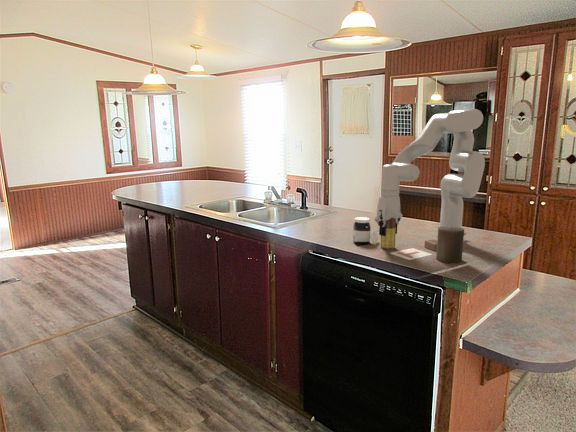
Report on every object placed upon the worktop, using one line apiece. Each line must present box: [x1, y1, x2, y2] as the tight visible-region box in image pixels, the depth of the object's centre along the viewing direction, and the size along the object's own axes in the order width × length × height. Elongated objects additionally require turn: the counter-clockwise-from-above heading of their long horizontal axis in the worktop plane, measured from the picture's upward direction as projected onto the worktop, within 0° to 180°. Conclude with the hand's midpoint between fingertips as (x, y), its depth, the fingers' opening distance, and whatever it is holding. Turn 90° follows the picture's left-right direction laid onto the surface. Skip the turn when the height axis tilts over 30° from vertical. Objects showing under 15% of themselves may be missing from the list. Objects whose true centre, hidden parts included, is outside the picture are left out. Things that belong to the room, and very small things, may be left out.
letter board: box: [389, 247, 433, 261], centre depth 175 cm, size 14×11×1 cm
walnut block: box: [423, 238, 437, 252], centre depth 182 cm, size 6×6×4 cm
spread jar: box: [352, 216, 379, 246], centre depth 192 cm, size 12×11×12 cm
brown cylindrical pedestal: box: [435, 225, 465, 264], centre depth 165 cm, size 10×10×15 cm
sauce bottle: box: [380, 218, 397, 251], centre depth 181 cm, size 6×6×20 cm
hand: (388, 233), depth 182 cm, fingers closed on sauce bottle, 6 cm apart
